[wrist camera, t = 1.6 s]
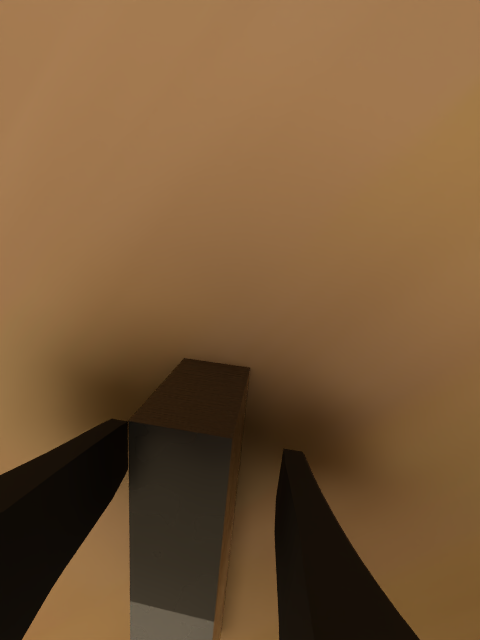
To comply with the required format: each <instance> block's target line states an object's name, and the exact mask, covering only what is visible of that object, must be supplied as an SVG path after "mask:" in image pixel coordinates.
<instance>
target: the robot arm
mask: <svg viewBox="0 0 480 640" xmlns="http://www.w3.org/2000/svg"><path fill="white" fill-rule="evenodd" d="M127 470H128V422H127V421H121V420H115V419H110V420H108V421H106V422H104V423H102V424H100V425H98V426H96V427H94V428H92V429H91V430H89V431H87V432H85V433H83V434H81V435H79V436H77V437H76V438H74V439H72V440H70V441H68V442H66V443H64V444H62V445H60V446H59V447H57V448H55V449H53V450H51V451H49V452H47V453H45V454H43V455H41V456H39V457H37V458H35V459H33V460H31V461H29V462H27V463H25V464H23V465H21V466H18V467H16V468H14V469H12V470H10V471H8V472H6V473H4V474H2V475H0V640H22V639H23V637H24V635H25V633H26V632H27V630H28V628H29V626H30V625H31V623H32V621H33V620H34V618H35V616H36V614H37V613H38V611H39V609H40V608H41V606H42V604H43V602H44V601H45V599H46V597H47V596H48V594H49V592H50V590H51V589H52V587H53V586H54V584H55V583H56V581H57V580H58V578H59V576H60V575H61V573H62V572H63V570H64V569H65V567H66V566H67V564H68V563H69V562H70V560H71V559H72V557H73V556H74V554H75V553H76V551H77V550H78V548H79V547H80V546H81V544H82V543H83V541H84V540H85V538H86V537H87V535H88V534H89V532H90V531H91V530H92V528H93V527H94V525H95V524H96V522H97V521H98V519H99V518H100V516H101V515H102V513H103V512H104V511H105V509H106V508H107V506H108V505H109V503H110V502H111V500H112V499H113V497H114V495H115V493H116V491H117V489H118V488H119V486H120V484H121V482H122V480H123V478H124V476H125V474H126V472H127ZM275 552H276V573H277V593H278V614H279V640H420V639H419V638H418V637H417V635H416V634H415V633H414V632H413V630H412V629H411V628H410V626H409V625H408V624H407V623H406V621H405V620H404V619H403V618H402V616H401V615H400V614H399V612H398V611H397V610H396V608H395V607H394V606H393V604H392V603H391V602H390V600H389V599H388V597H387V596H386V595H385V593H384V592H383V591H382V589H381V588H380V586H379V585H378V584H377V582H376V581H375V579H374V578H373V576H372V575H371V573H370V572H369V571H368V569H367V568H366V566H365V565H364V563H363V562H362V560H361V559H360V557H359V556H358V554H357V552H356V551H355V549H354V548H353V546H352V545H351V543H350V541H349V540H348V538H347V536H346V535H345V533H344V531H343V530H342V528H341V526H340V525H339V523H338V521H337V519H336V518H335V516H334V514H333V512H332V511H331V509H330V507H329V505H328V503H327V501H326V499H325V498H324V496H323V494H322V492H321V490H320V488H319V486H318V484H317V482H316V480H315V478H314V475H313V473H312V471H311V469H310V467H309V464H308V462H307V460H306V457H305V455H304V454H303V452H301V451H295V450H289V449H284V450H283V456H282V463H281V469H280V476H279V482H278V489H277V495H276V510H275Z"/></svg>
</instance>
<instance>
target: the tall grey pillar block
mask: <svg viewBox="0 0 480 640" xmlns="http://www.w3.org/2000/svg"><path fill="white" fill-rule="evenodd" d="M249 375H250V368H247V367H240V366H233V365H227V364H220V363H213V362H206V361H199V360H192V359H185V358H184V359H183V360H182V361H181V362H180V364H179V365H178V366H177V367H176V368H175V369H174V370H173V371H172V373H171V374H170V375H169V376H168V377H167V378H166V379H165V380H164V382H163V383H162V384H161V385H160V386H159V387H158V388H157V389H156V391H155V392H154V393H153V394H152V395H151V396H150V397H149V398H148V400H147V401H146V402H145V403H144V404H143V405H142V406H141V407H140V409H139V410H138V411H137V412H136V413H135V414H134V415H133V416H132V417H131V419H130V420H129V533H130V640H220V636H221V629H222V620H223V611H224V602H225V593H226V584H227V575H228V565H229V556H230V547H231V538H232V529H233V520H234V511H235V502H236V493H237V484H238V475H239V466H240V457H241V448H242V438H243V429H244V420H245V411H246V402H247V393H248V384H249Z"/></svg>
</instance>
